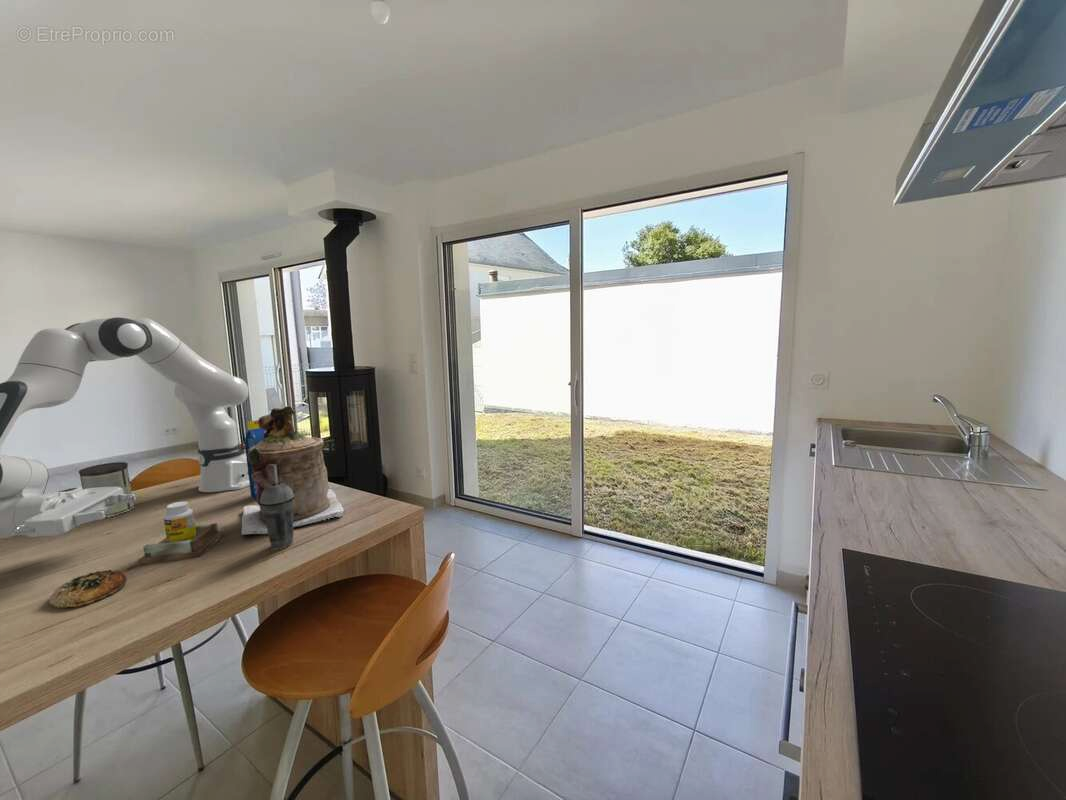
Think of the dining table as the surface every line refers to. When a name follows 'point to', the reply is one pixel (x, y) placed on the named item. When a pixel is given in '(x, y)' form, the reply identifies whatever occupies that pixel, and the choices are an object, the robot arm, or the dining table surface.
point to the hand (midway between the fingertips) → (120, 505)
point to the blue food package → (251, 440)
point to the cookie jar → (290, 473)
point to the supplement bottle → (179, 522)
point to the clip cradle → (182, 545)
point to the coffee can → (109, 481)
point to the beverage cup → (278, 513)
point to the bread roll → (88, 589)
